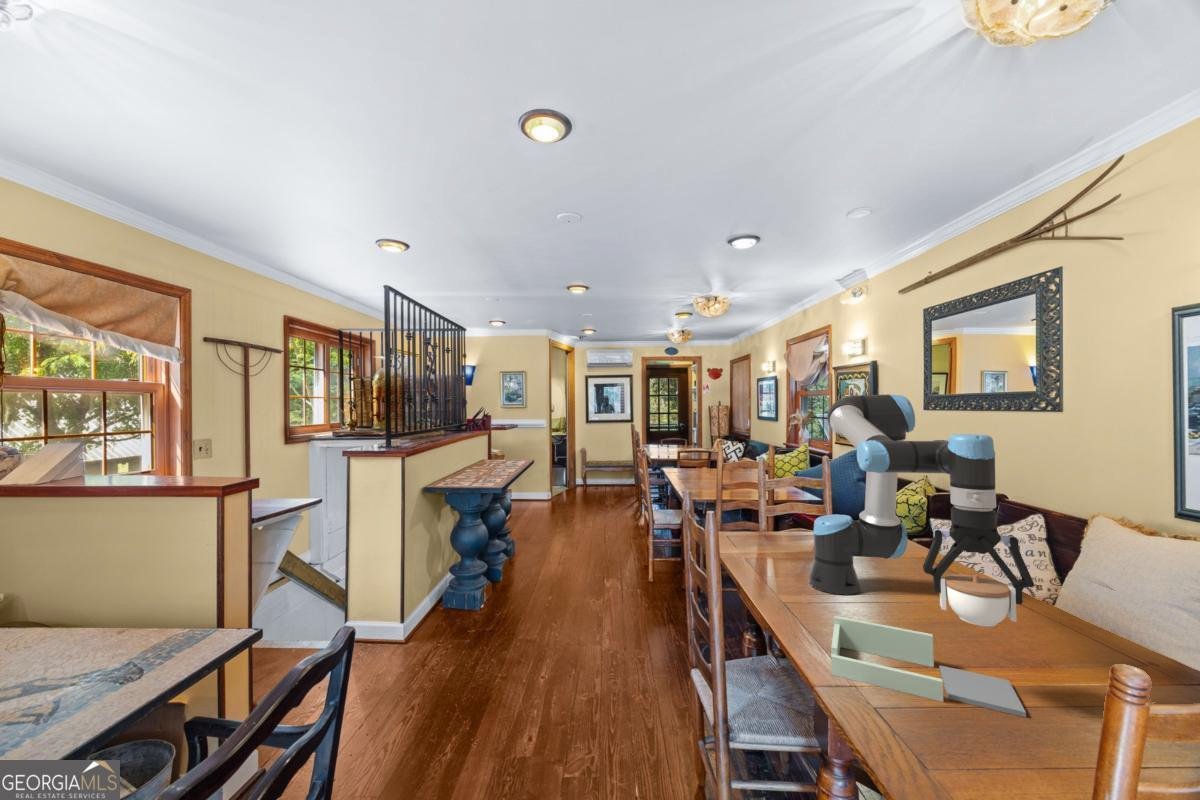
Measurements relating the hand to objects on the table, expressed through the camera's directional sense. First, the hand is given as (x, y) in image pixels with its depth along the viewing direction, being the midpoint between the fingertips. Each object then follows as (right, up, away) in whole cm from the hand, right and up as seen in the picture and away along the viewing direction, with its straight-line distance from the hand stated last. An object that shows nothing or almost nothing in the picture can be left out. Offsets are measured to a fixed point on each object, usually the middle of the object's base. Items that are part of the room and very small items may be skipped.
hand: (976, 613), depth 96 cm
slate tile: (0, -16, 0) cm, 16 cm away
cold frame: (-15, -17, +8) cm, 24 cm away
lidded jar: (0, -2, 0) cm, 2 cm away
